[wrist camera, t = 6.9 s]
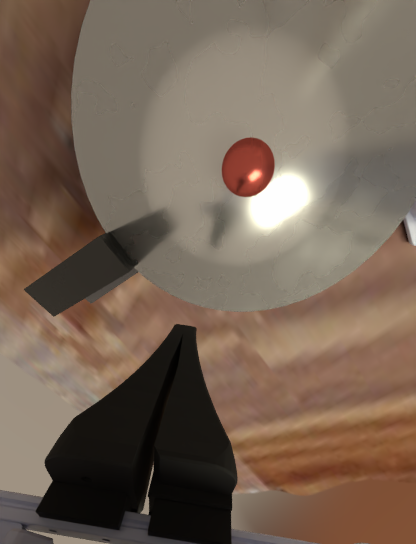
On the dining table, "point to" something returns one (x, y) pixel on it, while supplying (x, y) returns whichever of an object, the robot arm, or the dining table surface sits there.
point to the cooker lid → (239, 146)
